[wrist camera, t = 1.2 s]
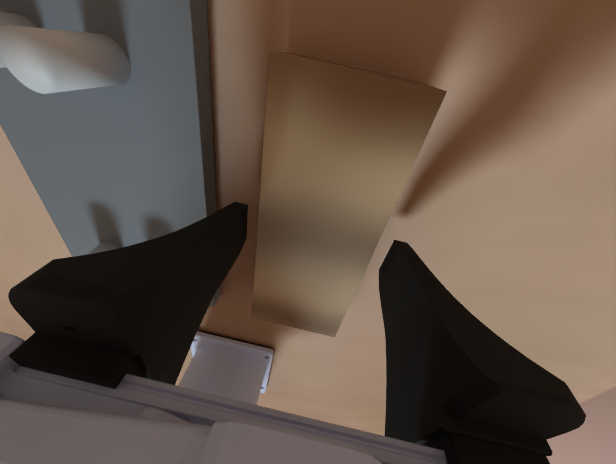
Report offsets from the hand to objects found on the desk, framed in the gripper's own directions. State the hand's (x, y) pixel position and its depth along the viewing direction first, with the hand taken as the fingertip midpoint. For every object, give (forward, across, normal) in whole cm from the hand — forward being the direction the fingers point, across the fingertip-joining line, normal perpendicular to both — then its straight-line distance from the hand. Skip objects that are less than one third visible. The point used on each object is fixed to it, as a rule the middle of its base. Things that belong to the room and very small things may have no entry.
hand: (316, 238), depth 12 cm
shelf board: (+2, 0, 0) cm, 3 cm away
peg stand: (+2, +11, 0) cm, 11 cm away
